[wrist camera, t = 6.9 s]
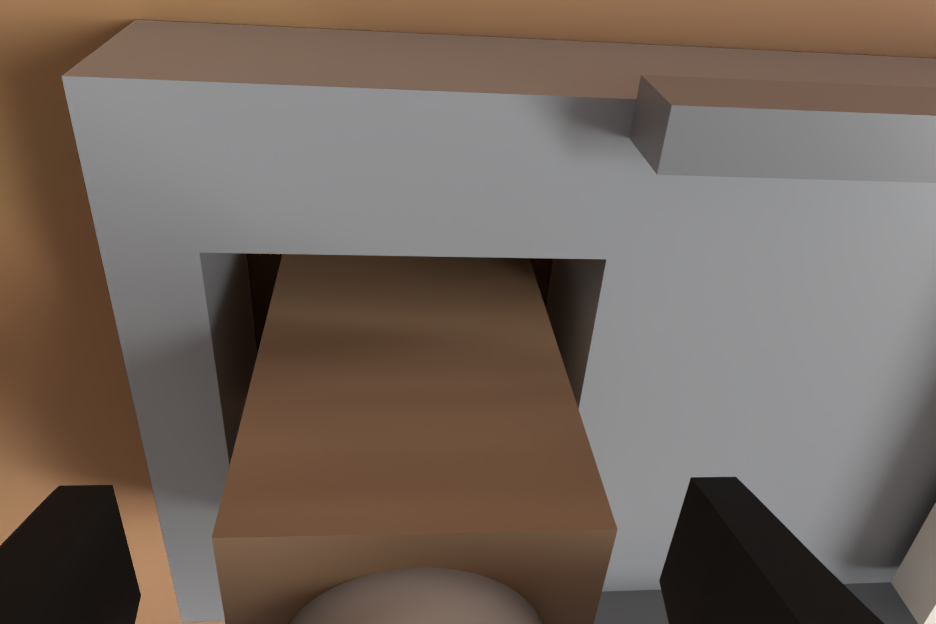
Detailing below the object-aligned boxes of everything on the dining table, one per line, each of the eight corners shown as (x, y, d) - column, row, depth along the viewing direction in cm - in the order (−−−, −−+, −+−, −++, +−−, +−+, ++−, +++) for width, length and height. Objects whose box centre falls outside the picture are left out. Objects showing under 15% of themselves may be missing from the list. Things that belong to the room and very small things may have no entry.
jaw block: (498, 399, 16) (579, 826, 9) (301, 399, 15) (233, 850, 9) (518, 225, 14) (645, 615, 7) (290, 219, 13) (188, 630, 6)
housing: (892, 497, 18) (1012, 656, 15) (215, 510, 17) (168, 694, 13) (1125, 48, 13) (1407, 134, 9) (131, -3, 11) (9, 79, 7)
